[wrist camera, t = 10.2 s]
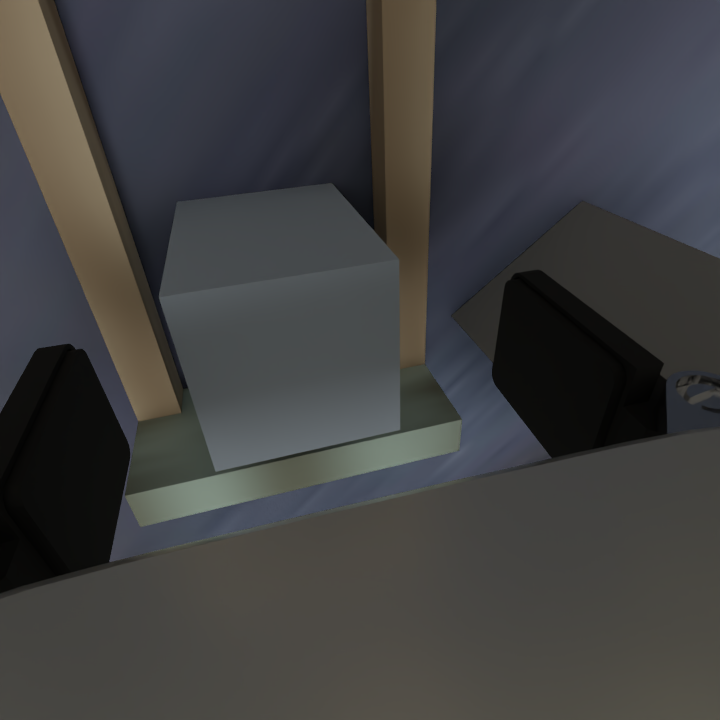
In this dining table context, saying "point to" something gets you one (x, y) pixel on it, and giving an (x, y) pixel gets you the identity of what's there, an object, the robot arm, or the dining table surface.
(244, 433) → the grey rectangular block
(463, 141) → the dining table surface
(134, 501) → the track
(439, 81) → the dining table surface
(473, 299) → the perfume bottle
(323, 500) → the dining table surface
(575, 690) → the robot arm
